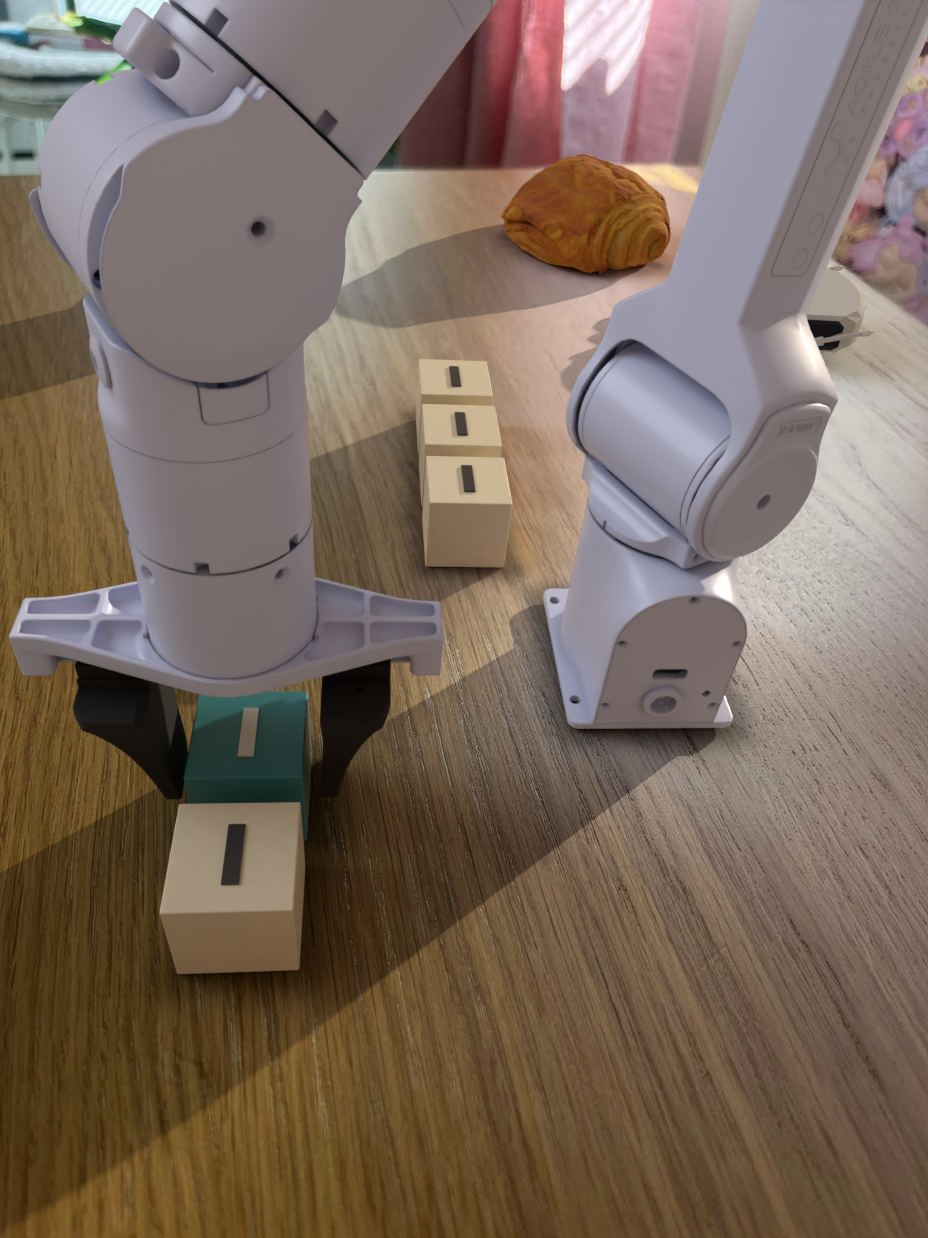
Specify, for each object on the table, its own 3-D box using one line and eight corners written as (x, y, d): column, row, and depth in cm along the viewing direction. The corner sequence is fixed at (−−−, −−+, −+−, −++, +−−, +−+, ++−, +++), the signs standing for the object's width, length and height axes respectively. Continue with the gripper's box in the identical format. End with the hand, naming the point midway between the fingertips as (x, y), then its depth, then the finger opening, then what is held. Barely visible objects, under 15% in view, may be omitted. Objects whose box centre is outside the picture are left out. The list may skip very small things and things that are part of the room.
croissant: (581, 227, 95) (588, 140, 91) (694, 262, 85) (709, 167, 81) (467, 246, 88) (469, 154, 84) (575, 287, 78) (584, 185, 74)
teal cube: (306, 842, 38) (302, 775, 35) (197, 844, 38) (182, 776, 35) (311, 756, 41) (307, 688, 38) (210, 757, 41) (198, 689, 38)
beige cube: (503, 568, 52) (513, 502, 49) (425, 567, 51) (429, 501, 48) (496, 519, 55) (504, 455, 52) (422, 518, 54) (425, 453, 51)
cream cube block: (486, 456, 60) (493, 394, 57) (418, 455, 59) (421, 392, 56) (480, 420, 63) (486, 359, 60) (415, 418, 62) (418, 357, 59)
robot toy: (667, 368, 72) (866, 379, 71) (676, 312, 69) (884, 323, 68) (660, 300, 81) (837, 309, 80) (668, 248, 78) (852, 257, 77)
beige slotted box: (299, 971, 34) (293, 908, 31) (176, 975, 34) (158, 912, 31) (305, 865, 37) (300, 799, 34) (193, 868, 37) (178, 801, 34)
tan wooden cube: (494, 508, 56) (502, 444, 53) (421, 507, 55) (425, 442, 52) (487, 466, 59) (495, 404, 56) (418, 465, 58) (421, 401, 55)
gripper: (443, 451, 33) (425, 704, 42) (15, 440, 31) (94, 705, 41) (456, 583, 28) (432, 838, 37) (-54, 578, 26) (54, 845, 36)
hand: (254, 778), depth 39 cm, fingers open, 6 cm apart
